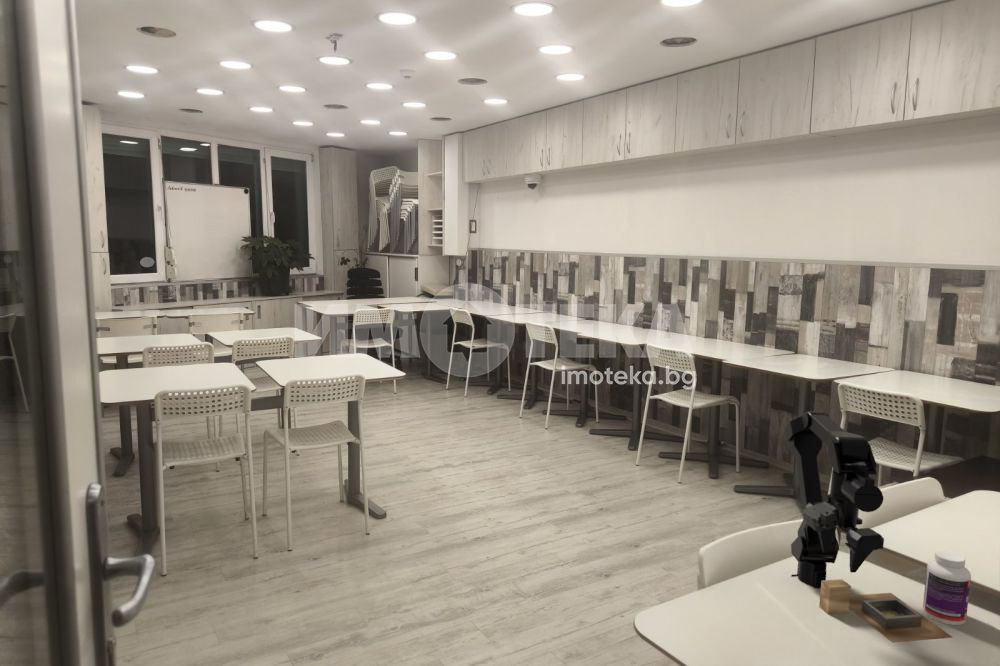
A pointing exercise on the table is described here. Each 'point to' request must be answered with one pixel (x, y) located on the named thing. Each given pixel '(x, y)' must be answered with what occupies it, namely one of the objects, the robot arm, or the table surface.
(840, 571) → the table surface
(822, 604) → the tan wooden brick
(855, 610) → the board
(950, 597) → the pill bottle
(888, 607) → the tin
